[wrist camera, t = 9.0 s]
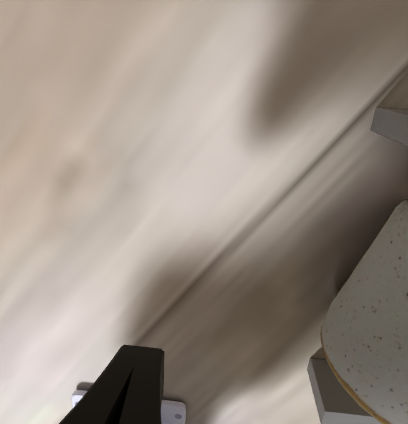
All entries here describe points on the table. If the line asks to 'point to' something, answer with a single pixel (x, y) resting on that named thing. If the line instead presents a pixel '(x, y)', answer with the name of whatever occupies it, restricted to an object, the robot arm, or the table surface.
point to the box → (318, 368)
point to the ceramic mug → (374, 325)
